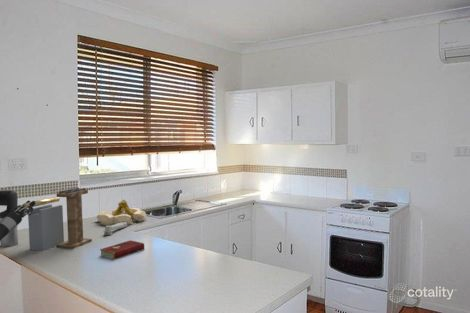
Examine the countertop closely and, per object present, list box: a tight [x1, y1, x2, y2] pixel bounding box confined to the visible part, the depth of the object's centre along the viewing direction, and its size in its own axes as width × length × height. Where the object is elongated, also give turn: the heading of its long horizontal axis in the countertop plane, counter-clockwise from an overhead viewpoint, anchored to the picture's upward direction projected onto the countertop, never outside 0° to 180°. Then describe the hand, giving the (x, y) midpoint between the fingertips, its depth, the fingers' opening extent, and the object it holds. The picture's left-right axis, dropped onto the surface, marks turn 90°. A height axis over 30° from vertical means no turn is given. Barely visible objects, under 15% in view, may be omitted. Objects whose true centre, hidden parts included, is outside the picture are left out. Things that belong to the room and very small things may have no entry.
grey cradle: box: [27, 203, 65, 252], centre depth 228 cm, size 16×10×24 cm, turn 161°
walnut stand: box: [55, 187, 93, 250], centre depth 231 cm, size 16×12×33 cm
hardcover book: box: [99, 239, 145, 260], centre depth 214 cm, size 12×21×4 cm, turn 145°
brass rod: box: [22, 196, 60, 209], centre depth 225 cm, size 24×3×3 cm, turn 161°
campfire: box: [96, 199, 147, 226], centre depth 293 cm, size 35×34×17 cm
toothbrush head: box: [103, 222, 128, 236], centre depth 262 cm, size 5×7×25 cm
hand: (32, 201), depth 218 cm, fingers closed on brass rod, 3 cm apart
